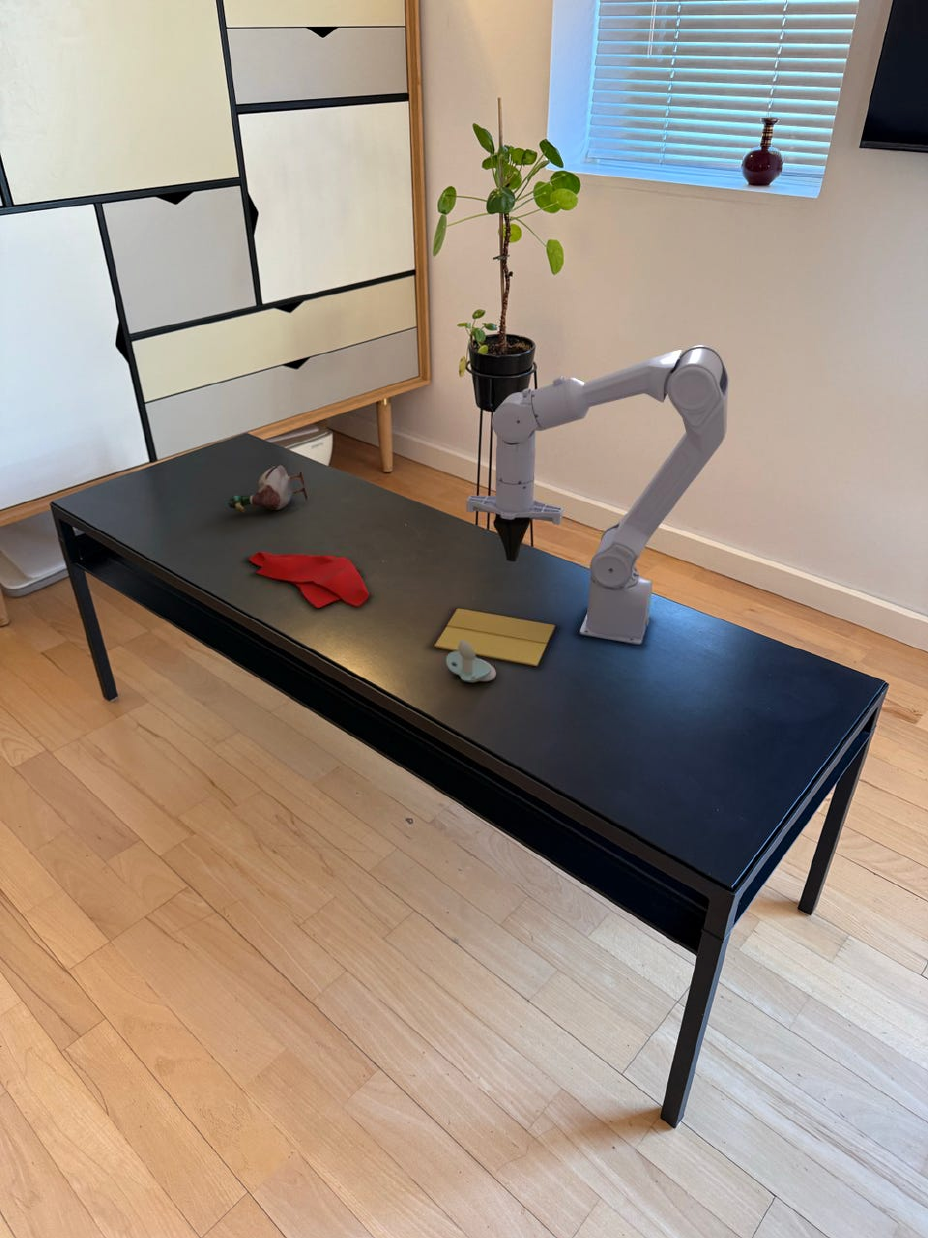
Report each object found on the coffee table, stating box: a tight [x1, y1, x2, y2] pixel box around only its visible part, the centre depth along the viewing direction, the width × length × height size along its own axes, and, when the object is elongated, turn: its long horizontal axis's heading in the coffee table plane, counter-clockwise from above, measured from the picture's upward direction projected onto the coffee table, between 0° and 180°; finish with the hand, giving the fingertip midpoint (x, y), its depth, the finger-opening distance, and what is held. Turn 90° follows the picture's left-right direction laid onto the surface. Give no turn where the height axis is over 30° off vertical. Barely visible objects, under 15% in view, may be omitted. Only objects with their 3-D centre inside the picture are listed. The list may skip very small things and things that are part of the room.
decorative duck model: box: [227, 464, 309, 513], centre depth 175 cm, size 15×8×15 cm
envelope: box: [433, 608, 556, 667], centre depth 136 cm, size 16×11×1 cm
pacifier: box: [445, 640, 497, 683], centre depth 126 cm, size 7×6×6 cm
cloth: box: [248, 551, 370, 609], centre depth 152 cm, size 26×14×2 cm, turn 45°
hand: (512, 558), depth 138 cm, fingers closed
